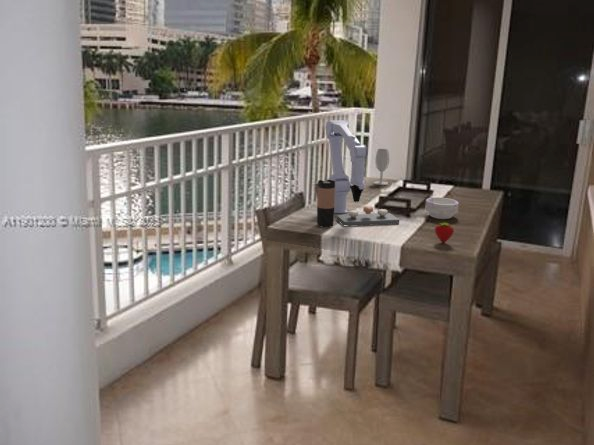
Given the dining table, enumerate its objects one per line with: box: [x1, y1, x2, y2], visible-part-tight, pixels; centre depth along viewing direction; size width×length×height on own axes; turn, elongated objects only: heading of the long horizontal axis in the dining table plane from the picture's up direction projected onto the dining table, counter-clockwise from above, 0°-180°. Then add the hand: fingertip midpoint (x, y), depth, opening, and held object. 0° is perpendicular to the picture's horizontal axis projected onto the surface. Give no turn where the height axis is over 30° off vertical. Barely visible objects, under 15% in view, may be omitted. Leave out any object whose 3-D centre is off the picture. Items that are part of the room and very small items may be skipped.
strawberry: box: [434, 220, 454, 244], centre depth 237 cm, size 6×8×10 cm
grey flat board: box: [336, 212, 400, 226], centre depth 267 cm, size 26×12×2 cm, turn 103°
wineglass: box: [373, 148, 390, 186], centre depth 347 cm, size 9×9×21 cm
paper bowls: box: [424, 196, 460, 220], centre depth 278 cm, size 15×15×8 cm
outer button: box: [377, 208, 388, 217], centre depth 268 cm, size 4×4×3 cm
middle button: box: [362, 205, 374, 214], centre depth 266 cm, size 4×4×3 cm
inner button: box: [348, 210, 359, 218], centre depth 265 cm, size 4×4×3 cm
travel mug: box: [316, 179, 335, 228], centre depth 258 cm, size 8×8×20 cm
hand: (356, 201), depth 265 cm, fingers closed
